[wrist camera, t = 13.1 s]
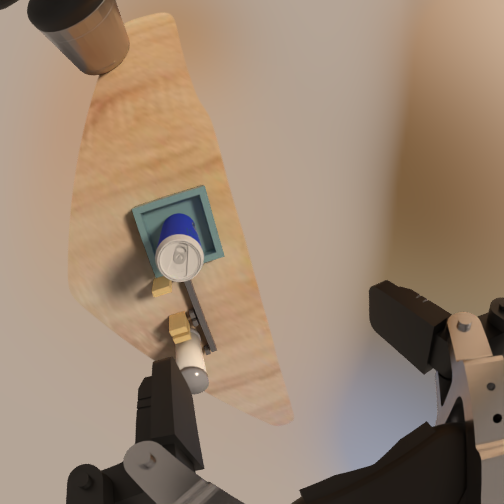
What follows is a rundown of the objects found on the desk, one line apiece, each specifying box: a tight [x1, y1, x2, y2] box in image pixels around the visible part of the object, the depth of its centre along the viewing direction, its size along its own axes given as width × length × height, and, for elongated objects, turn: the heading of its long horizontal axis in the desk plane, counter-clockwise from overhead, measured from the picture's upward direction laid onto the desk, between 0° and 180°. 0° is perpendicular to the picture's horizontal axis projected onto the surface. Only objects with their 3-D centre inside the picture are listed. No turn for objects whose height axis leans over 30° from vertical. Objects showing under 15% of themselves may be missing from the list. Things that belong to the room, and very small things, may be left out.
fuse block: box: [152, 276, 217, 355], centre depth 45 cm, size 17×6×5 cm, turn 14°
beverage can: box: [155, 213, 204, 282], centre depth 35 cm, size 5×5×15 cm
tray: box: [132, 185, 224, 278], centre depth 41 cm, size 11×11×3 cm
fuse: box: [175, 327, 209, 394], centre depth 43 cm, size 5×5×12 cm
